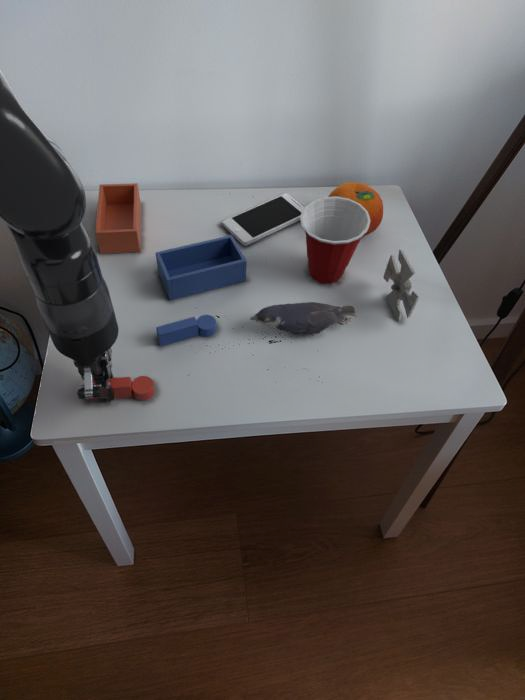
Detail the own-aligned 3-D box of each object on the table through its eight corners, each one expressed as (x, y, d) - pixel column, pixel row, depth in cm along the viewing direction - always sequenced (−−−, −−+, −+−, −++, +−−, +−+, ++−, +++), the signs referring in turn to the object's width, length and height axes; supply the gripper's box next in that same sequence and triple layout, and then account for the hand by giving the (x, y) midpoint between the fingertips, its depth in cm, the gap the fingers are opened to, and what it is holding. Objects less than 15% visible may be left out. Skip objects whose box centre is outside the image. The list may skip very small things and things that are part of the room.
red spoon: (88, 405, 70) (83, 394, 68) (89, 386, 72) (85, 375, 69) (154, 399, 71) (152, 389, 69) (154, 381, 73) (152, 370, 70)
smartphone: (221, 224, 94) (221, 220, 93) (286, 196, 100) (286, 192, 99) (244, 246, 91) (244, 242, 90) (309, 215, 97) (310, 211, 96)
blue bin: (169, 300, 82) (167, 280, 78) (158, 273, 86) (155, 252, 82) (245, 281, 86) (246, 260, 82) (231, 255, 89) (232, 234, 86)
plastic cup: (284, 256, 90) (291, 199, 80) (341, 247, 92) (354, 190, 83) (304, 300, 84) (314, 244, 74) (364, 289, 86) (382, 234, 76)
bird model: (356, 335, 80) (362, 314, 76) (251, 344, 78) (252, 323, 74) (349, 314, 83) (355, 293, 79) (247, 321, 80) (248, 300, 76)
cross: (411, 330, 81) (431, 286, 73) (396, 332, 81) (414, 288, 73) (387, 284, 87) (403, 238, 79) (373, 286, 87) (387, 240, 79)
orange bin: (140, 251, 89) (136, 231, 85) (100, 253, 88) (95, 232, 84) (140, 204, 96) (137, 183, 93) (104, 205, 96) (99, 184, 92)
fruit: (310, 223, 96) (316, 187, 89) (348, 203, 100) (356, 167, 94) (350, 255, 91) (360, 218, 85) (389, 232, 95) (400, 196, 89)
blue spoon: (162, 350, 76) (160, 338, 74) (156, 335, 78) (154, 323, 76) (218, 333, 79) (218, 322, 76) (212, 319, 80) (212, 308, 78)
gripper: (50, 268, 60) (83, 354, 74) (33, 361, 52) (74, 439, 66) (115, 265, 61) (135, 351, 75) (109, 356, 53) (133, 434, 67)
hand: (106, 392), depth 71 cm, fingers closed on red spoon, 1 cm apart
